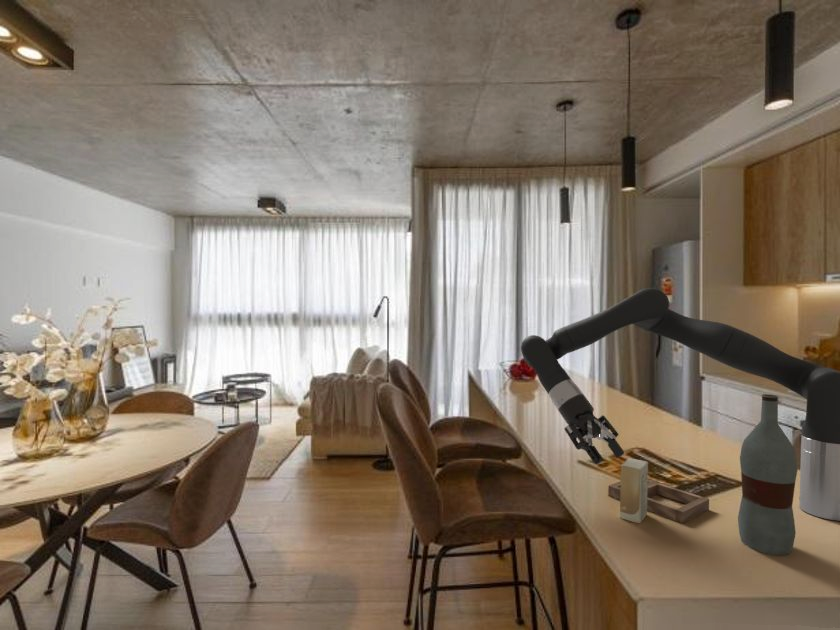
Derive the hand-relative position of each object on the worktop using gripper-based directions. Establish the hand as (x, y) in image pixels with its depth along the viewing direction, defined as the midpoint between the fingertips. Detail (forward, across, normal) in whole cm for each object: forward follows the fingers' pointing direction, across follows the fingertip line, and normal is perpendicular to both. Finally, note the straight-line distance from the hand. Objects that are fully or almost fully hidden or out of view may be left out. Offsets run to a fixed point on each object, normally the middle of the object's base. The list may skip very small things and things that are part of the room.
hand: (610, 459), depth 112 cm
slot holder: (+12, +12, +5) cm, 17 cm away
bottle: (+28, +10, -11) cm, 32 cm away
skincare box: (+12, 0, +4) cm, 13 cm away
